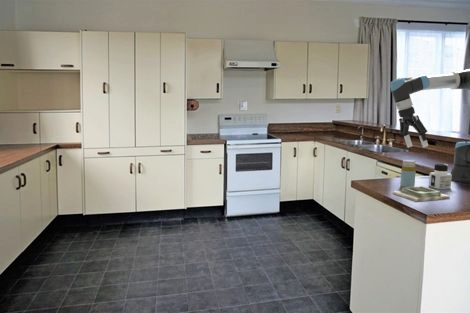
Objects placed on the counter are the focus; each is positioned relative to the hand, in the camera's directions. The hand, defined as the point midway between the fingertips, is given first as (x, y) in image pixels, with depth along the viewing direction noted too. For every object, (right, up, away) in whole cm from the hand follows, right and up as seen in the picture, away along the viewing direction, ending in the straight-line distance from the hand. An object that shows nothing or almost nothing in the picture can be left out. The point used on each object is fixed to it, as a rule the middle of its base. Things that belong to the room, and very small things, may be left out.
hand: (417, 146), depth 196 cm
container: (+17, -22, +10) cm, 29 cm away
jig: (-3, -25, -8) cm, 26 cm away
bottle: (-1, -22, +9) cm, 24 cm away
